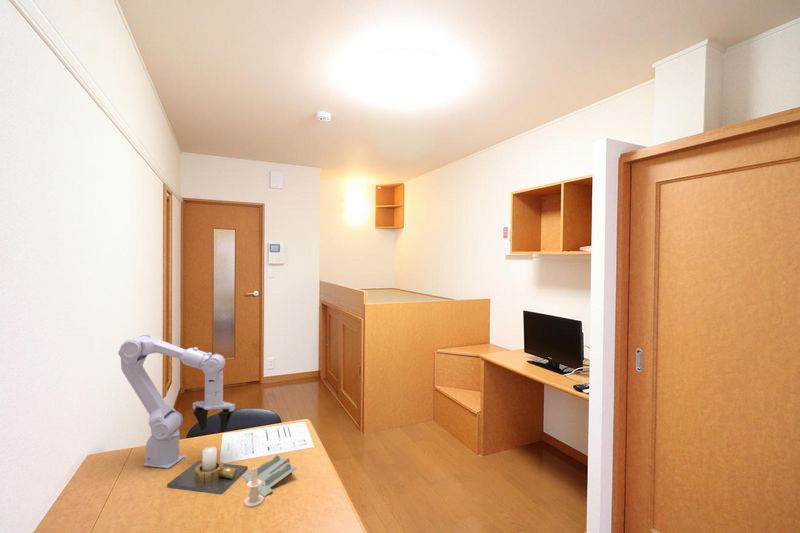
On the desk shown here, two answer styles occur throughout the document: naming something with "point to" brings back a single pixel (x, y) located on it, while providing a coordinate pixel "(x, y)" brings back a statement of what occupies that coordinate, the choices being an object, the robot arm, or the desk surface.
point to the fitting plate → (205, 486)
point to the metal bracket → (271, 474)
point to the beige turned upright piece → (253, 491)
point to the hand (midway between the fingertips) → (213, 430)
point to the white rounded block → (209, 459)
